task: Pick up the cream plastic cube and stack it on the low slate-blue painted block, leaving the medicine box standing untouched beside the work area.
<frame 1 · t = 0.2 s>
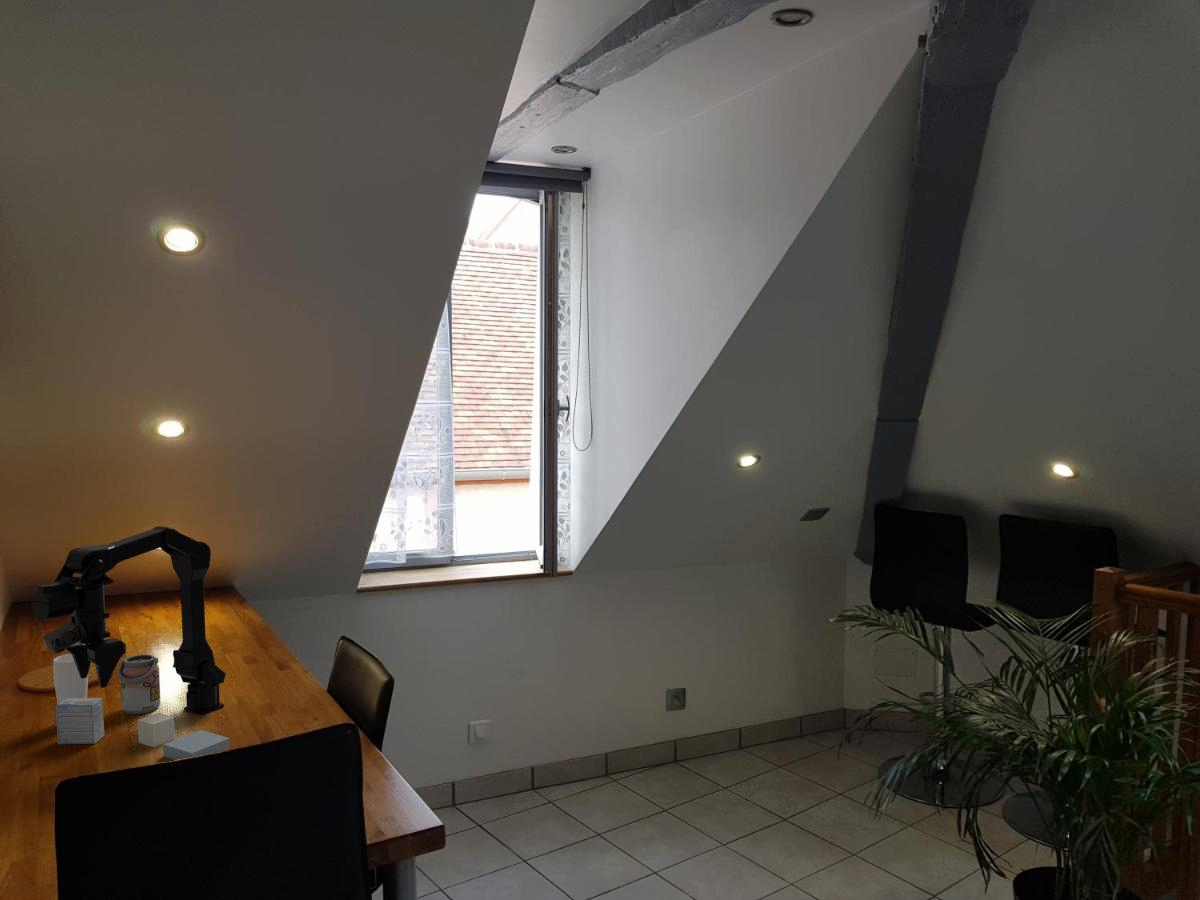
hand: (93, 682, 203), 14 cm above the table, fingers open, 9 cm apart
slate block: (197, 755, 202), on the table
cream cube: (156, 741, 208), on the table
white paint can: (140, 710, 227), on the table
medicine box: (81, 741, 209), on the table
drinking glass: (73, 724, 218), on the table
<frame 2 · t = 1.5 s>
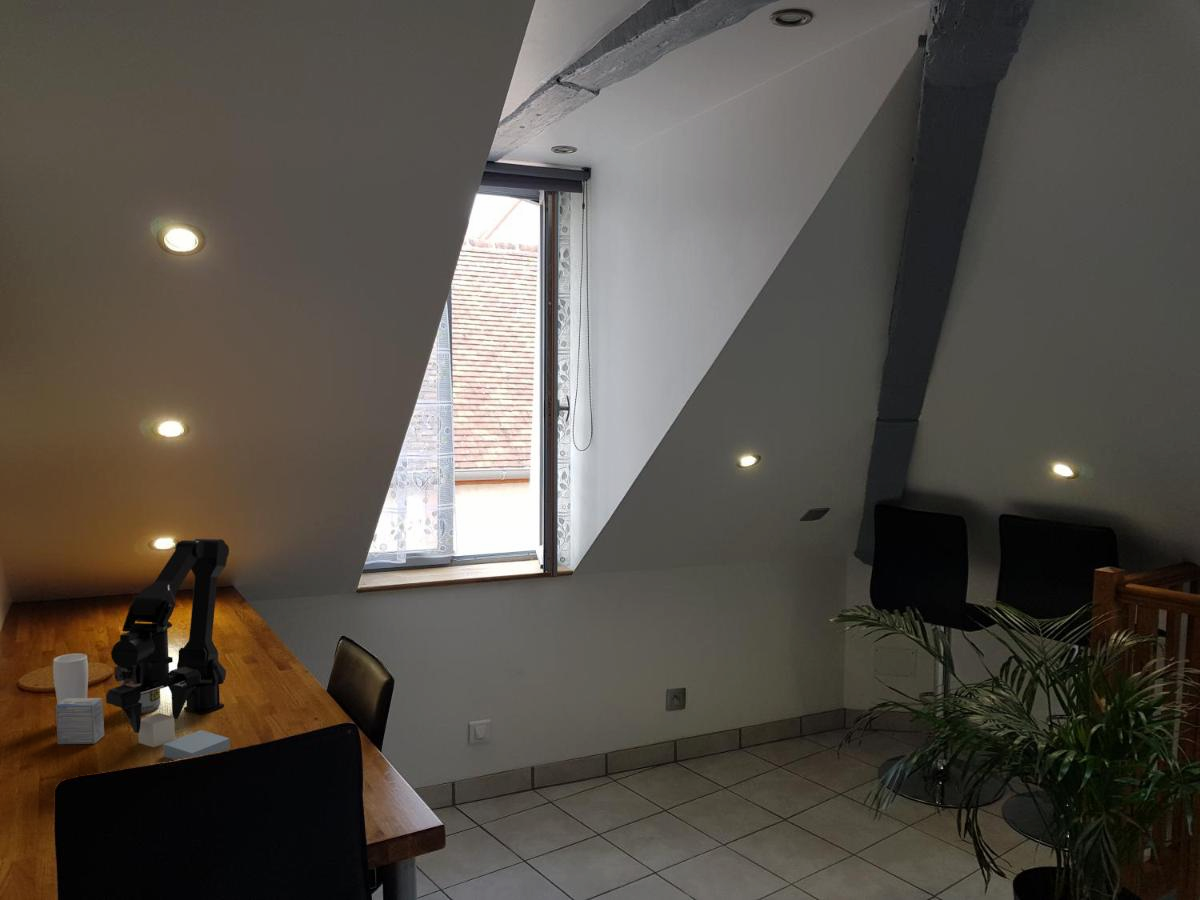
hand: (156, 725, 208), 3 cm above the table, fingers open, 9 cm apart
nothing on the table moved.
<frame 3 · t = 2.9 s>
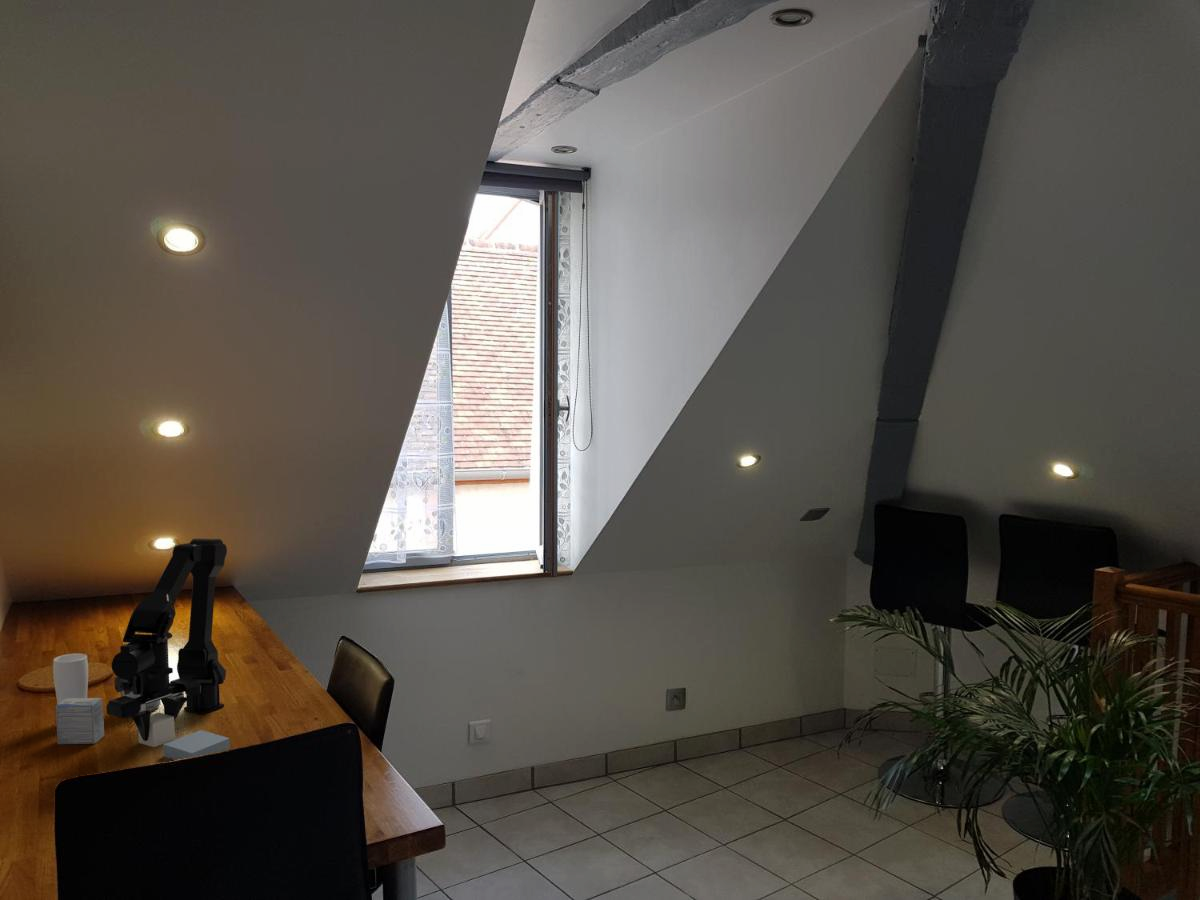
hand: (156, 736, 208), 1 cm above the table, fingers closed on cream cube, 5 cm apart
cream cube: (156, 741, 208), on the table, touching gripper
everything else where it was.
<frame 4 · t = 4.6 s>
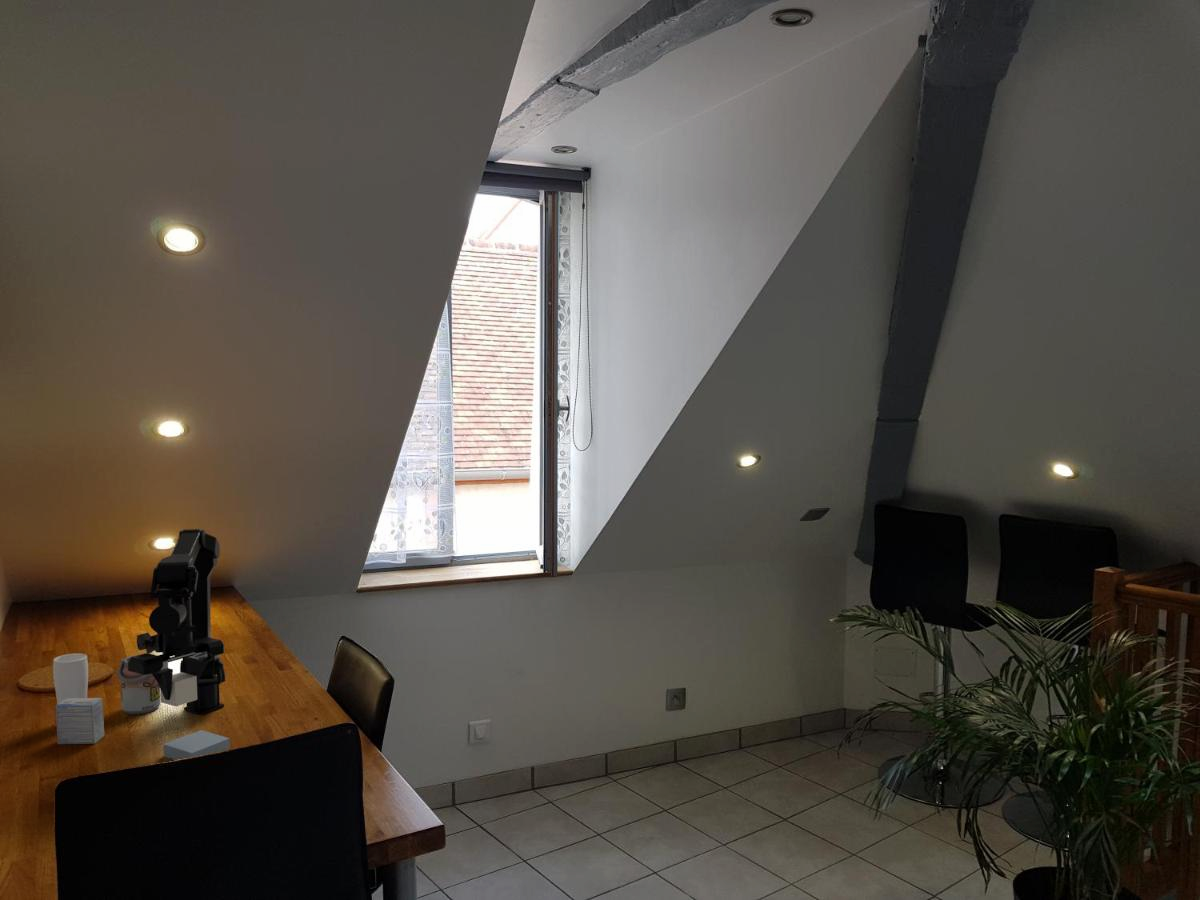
hand: (179, 696, 203), 11 cm above the table, fingers closed on cream cube, 5 cm apart
cream cube: (179, 701, 203), point 10 cm above the table, touching gripper
everything else where it was.
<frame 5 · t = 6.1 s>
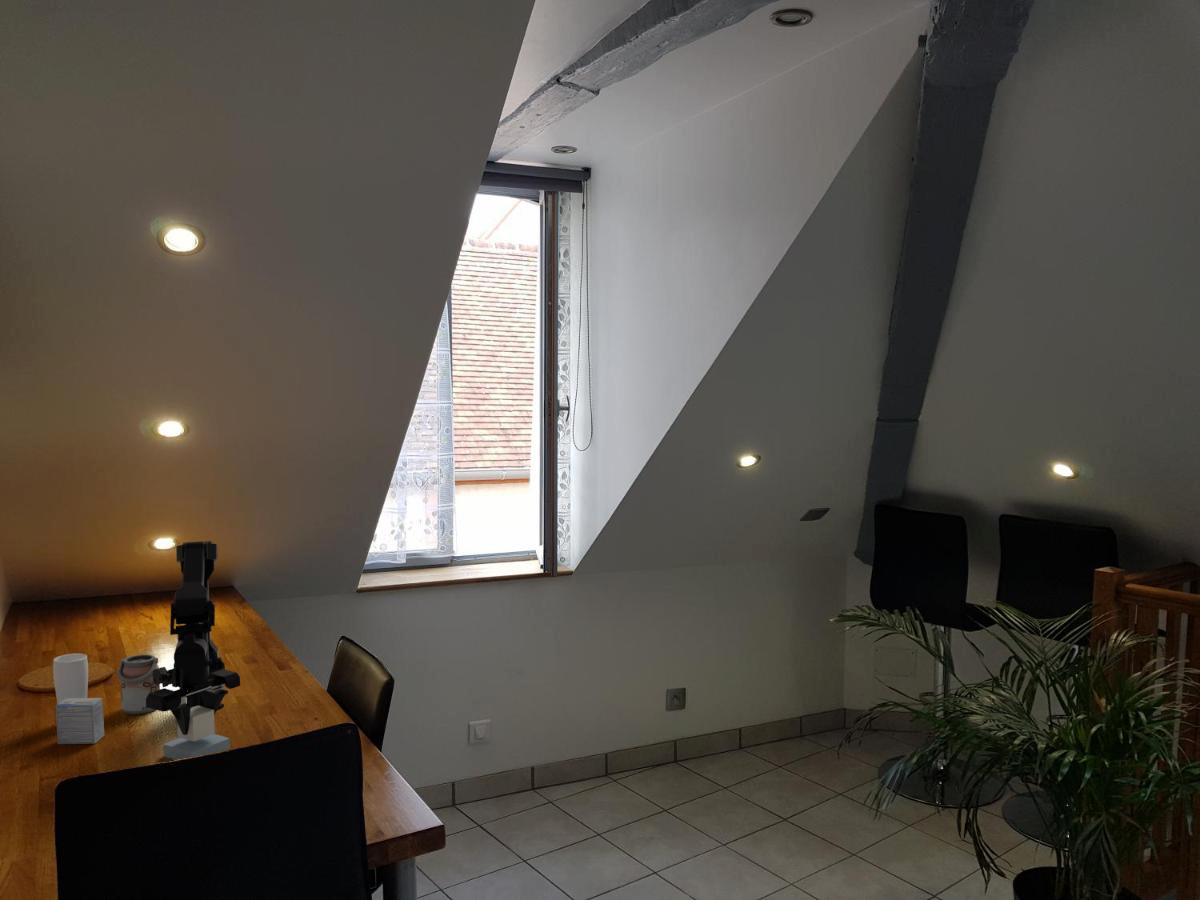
hand: (196, 730, 202), 5 cm above the table, fingers closed on cream cube, 5 cm apart
cream cube: (196, 735, 202), point 4 cm above the table, touching gripper
everything else where it was.
when the fingers open (5 cm above the table, at t = 6.8 s): cream cube drops 1 cm, resting on slate block.
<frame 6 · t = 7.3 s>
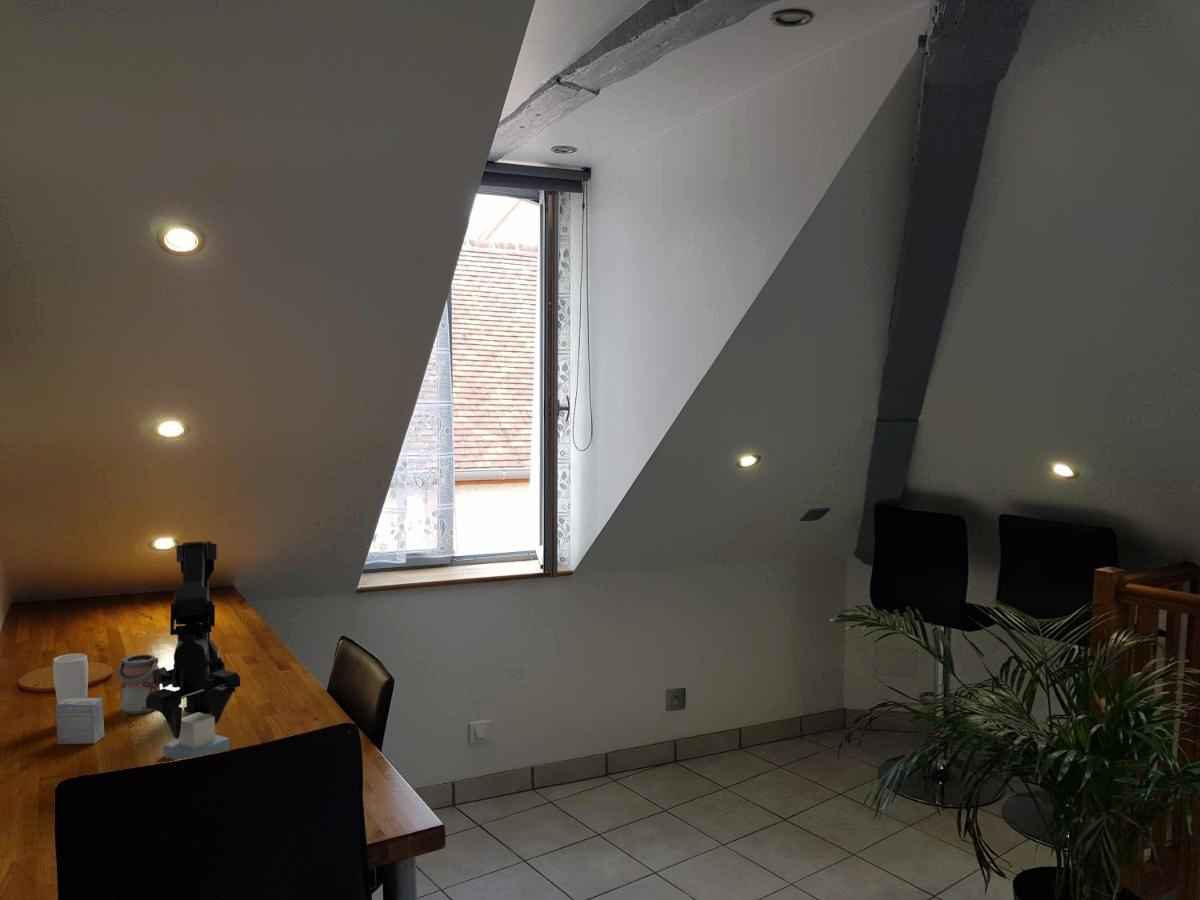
hand: (196, 730, 202), 5 cm above the table, fingers open, 9 cm apart
slate block: (197, 755, 202), on the table, touching cream cube
cream cube: (196, 741, 202), point 2 cm above the table, touching slate block
everything else where it was.
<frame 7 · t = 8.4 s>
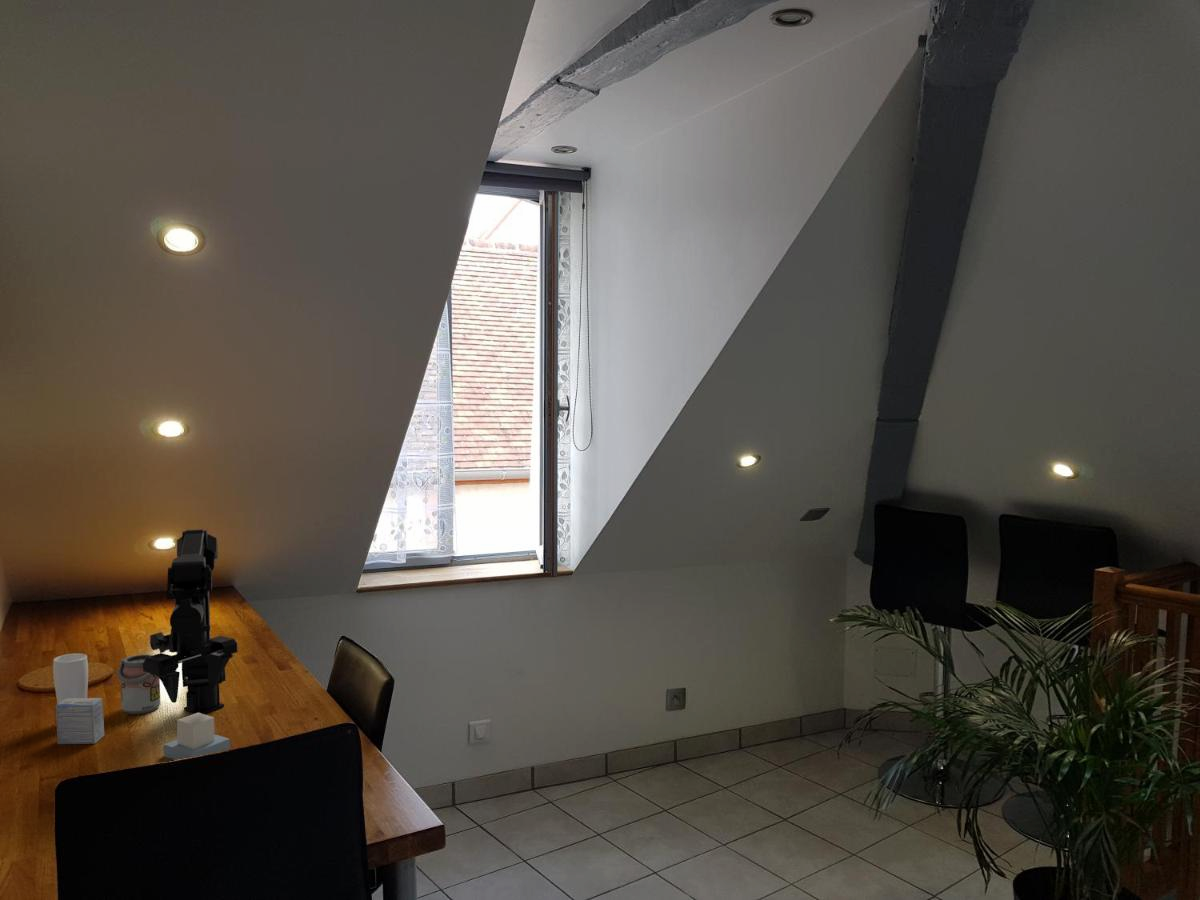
hand: (193, 695, 202), 12 cm above the table, fingers open, 9 cm apart
nothing on the table moved.
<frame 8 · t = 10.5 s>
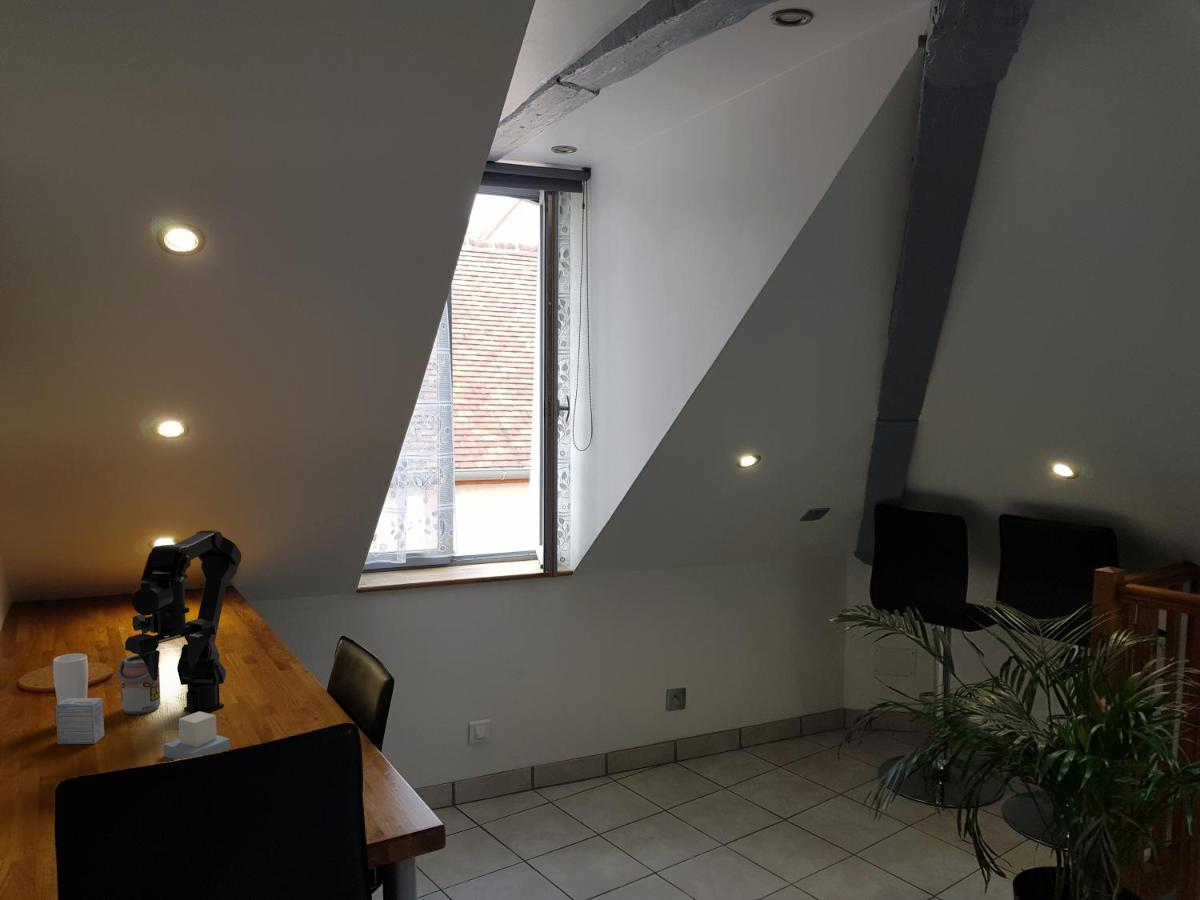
hand: (173, 674, 213), 13 cm above the table, fingers open, 9 cm apart
slate block: (197, 755, 202), on the table
cream cube: (198, 740, 202), point 2 cm above the table
everything else where it was.
at the end: cream cube inside the target area on the slate block (0.4 cm from its centre), point 3.0 cm above the slate block's base; cream cube tilted 0°; the gripper is holding nothing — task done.
